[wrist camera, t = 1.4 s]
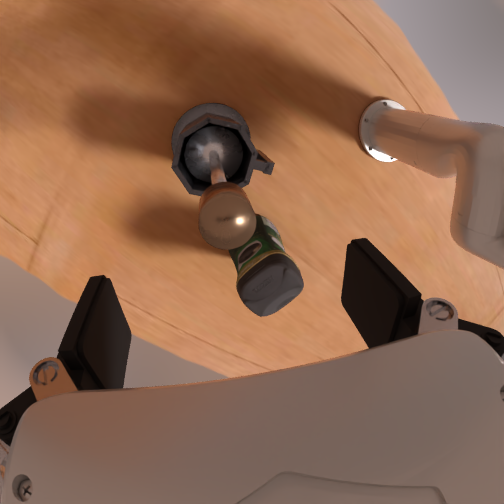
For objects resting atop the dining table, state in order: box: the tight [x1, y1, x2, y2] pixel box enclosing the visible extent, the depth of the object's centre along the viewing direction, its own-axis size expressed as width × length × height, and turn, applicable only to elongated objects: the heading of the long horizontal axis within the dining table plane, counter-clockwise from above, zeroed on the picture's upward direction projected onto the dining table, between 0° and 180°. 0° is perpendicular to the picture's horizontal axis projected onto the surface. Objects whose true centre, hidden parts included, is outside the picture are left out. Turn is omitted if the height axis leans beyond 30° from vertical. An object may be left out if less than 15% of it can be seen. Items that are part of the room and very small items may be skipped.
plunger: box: [184, 126, 256, 249], centre depth 26 cm, size 7×7×22 cm
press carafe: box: [171, 103, 275, 196], centre depth 40 cm, size 14×13×17 cm
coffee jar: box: [228, 216, 304, 317], centre depth 49 cm, size 10×8×19 cm
